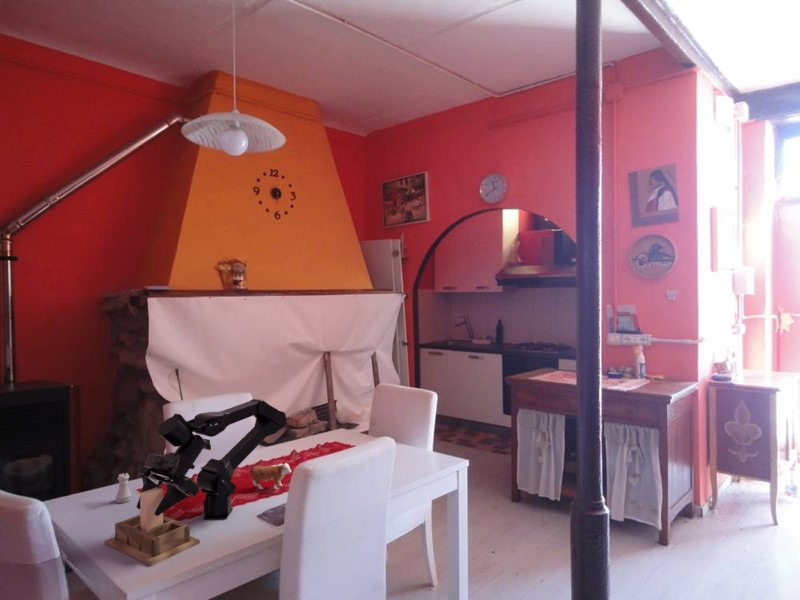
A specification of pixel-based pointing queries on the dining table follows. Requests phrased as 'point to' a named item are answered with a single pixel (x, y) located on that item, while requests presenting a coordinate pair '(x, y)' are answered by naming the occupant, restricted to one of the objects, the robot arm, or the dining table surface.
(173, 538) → the wooden compartment tray
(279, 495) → the dining table surface
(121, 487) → the rook chess piece
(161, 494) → the tan rectangular block
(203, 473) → the robot arm
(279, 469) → the bull figurine
